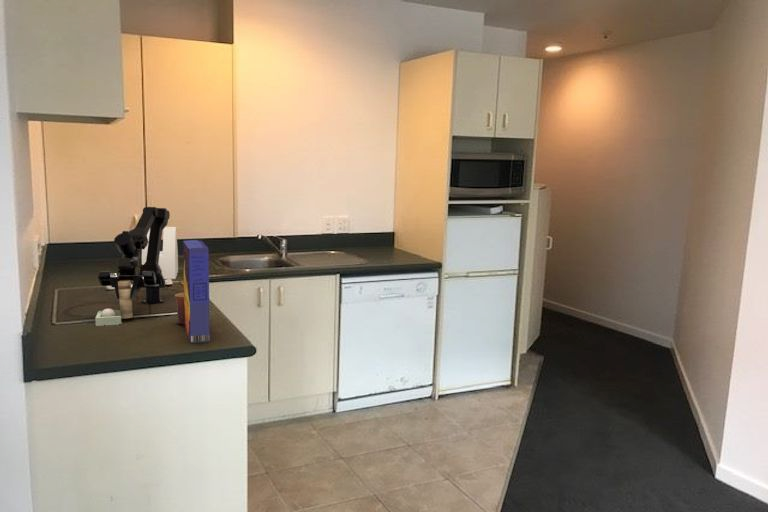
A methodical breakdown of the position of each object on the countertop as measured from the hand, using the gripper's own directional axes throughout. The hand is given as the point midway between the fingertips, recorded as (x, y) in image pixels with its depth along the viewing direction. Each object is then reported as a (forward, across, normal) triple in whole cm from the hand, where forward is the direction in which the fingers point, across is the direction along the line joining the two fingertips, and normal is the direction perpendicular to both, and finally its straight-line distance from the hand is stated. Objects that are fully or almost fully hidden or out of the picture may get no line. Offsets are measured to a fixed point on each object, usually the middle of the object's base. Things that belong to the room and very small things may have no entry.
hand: (124, 298), depth 213 cm
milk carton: (-63, -4, +76) cm, 98 cm away
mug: (+8, +23, +4) cm, 25 cm away
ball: (+4, -6, +5) cm, 8 cm away
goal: (+6, -5, +6) cm, 10 cm away
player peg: (+4, 0, +6) cm, 7 cm away
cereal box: (+19, +26, -7) cm, 33 cm away
